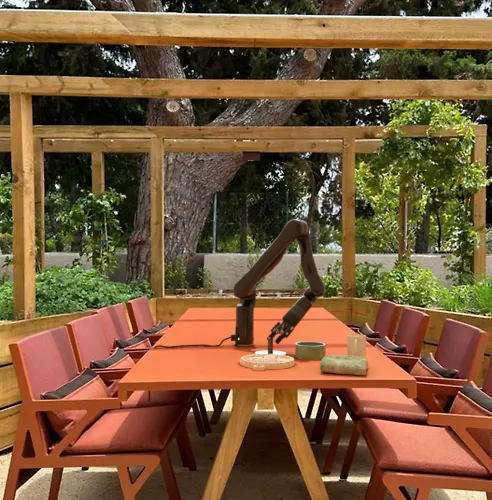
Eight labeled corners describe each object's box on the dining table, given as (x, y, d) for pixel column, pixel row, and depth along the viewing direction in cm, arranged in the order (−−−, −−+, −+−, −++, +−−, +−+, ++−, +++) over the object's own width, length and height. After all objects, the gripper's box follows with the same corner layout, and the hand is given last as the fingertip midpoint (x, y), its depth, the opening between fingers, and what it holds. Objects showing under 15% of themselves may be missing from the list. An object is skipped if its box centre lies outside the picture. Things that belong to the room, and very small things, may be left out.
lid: (254, 357, 272) (254, 340, 272) (254, 352, 286) (254, 335, 287) (286, 358, 271) (287, 340, 271) (285, 352, 286) (285, 335, 286)
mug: (363, 366, 254) (363, 338, 254) (343, 365, 257) (343, 337, 257) (367, 361, 265) (367, 334, 265) (348, 360, 268) (348, 333, 268)
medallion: (299, 360, 266) (299, 355, 266) (285, 372, 240) (285, 366, 240) (248, 357, 272) (249, 352, 272) (229, 368, 246) (229, 362, 246)
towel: (368, 366, 254) (368, 354, 254) (365, 377, 233) (366, 363, 233) (325, 364, 258) (325, 352, 258) (319, 374, 237) (319, 361, 237)
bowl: (295, 360, 266) (296, 346, 266) (294, 355, 280) (294, 341, 280) (326, 361, 266) (326, 346, 266) (323, 355, 279) (323, 341, 279)
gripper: (282, 309, 289) (260, 334, 285) (296, 312, 276) (273, 338, 272) (292, 319, 292) (270, 344, 287) (306, 323, 279) (284, 349, 274)
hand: (272, 341), depth 279 cm, fingers open, 8 cm apart
